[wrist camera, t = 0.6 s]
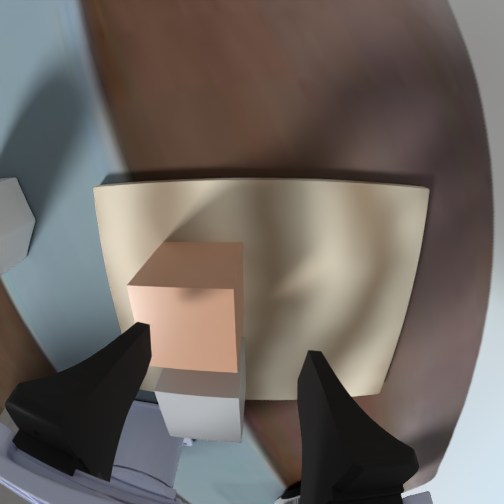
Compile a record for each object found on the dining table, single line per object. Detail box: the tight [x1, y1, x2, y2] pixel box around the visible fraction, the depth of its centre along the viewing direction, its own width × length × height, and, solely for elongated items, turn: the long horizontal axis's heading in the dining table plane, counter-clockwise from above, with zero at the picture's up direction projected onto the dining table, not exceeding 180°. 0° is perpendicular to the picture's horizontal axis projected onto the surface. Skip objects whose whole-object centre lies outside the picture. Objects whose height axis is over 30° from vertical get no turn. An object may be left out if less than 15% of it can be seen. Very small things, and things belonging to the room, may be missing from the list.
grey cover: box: [154, 337, 246, 443], centre depth 22 cm, size 6×6×6 cm
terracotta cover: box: [127, 242, 244, 373], centre depth 19 cm, size 6×6×6 cm
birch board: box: [93, 178, 429, 400], centre depth 23 cm, size 24×20×1 cm
